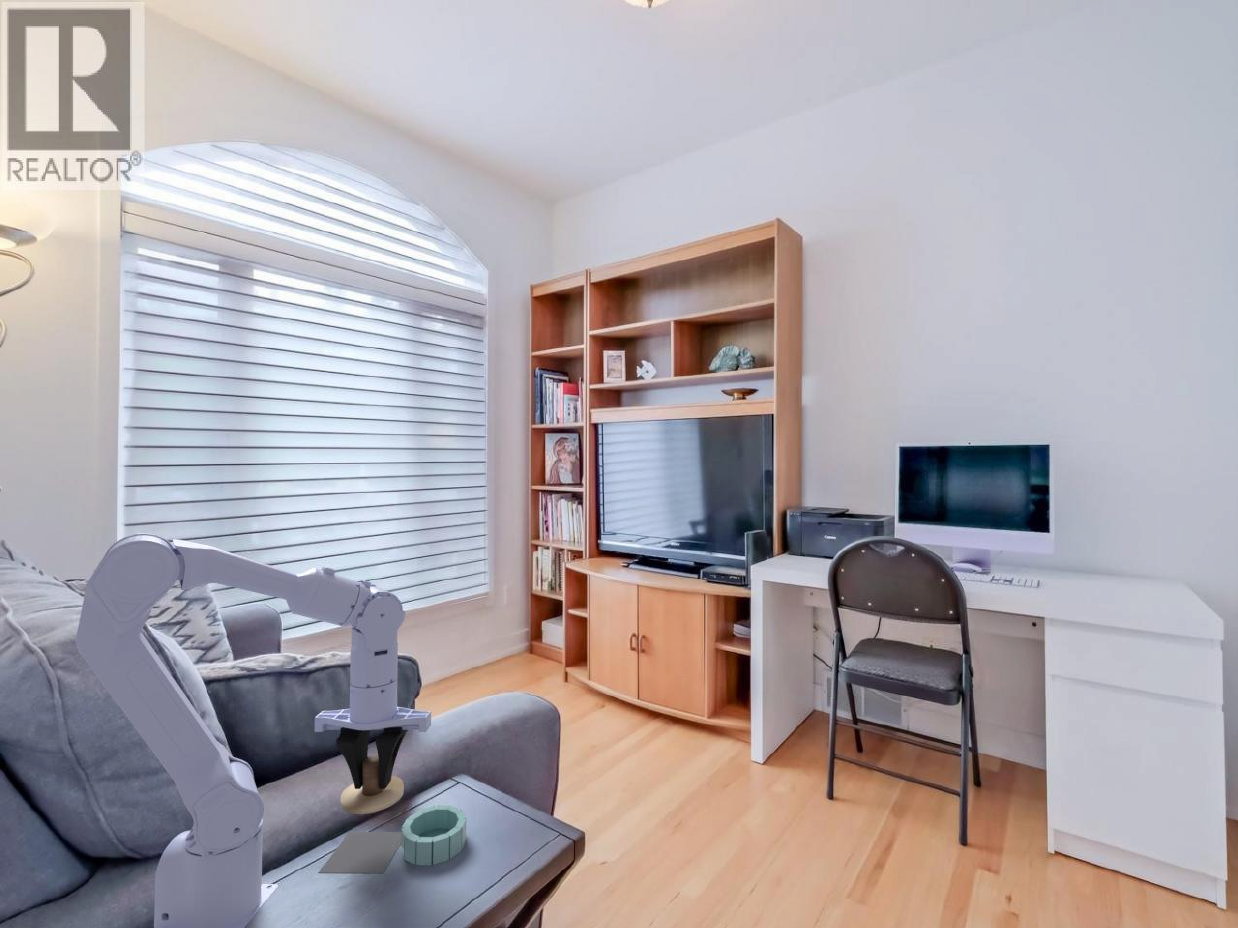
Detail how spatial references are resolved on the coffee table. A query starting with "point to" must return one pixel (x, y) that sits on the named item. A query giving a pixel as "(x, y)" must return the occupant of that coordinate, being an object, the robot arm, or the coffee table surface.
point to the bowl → (433, 835)
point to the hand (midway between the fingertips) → (373, 784)
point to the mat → (363, 853)
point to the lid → (371, 791)
